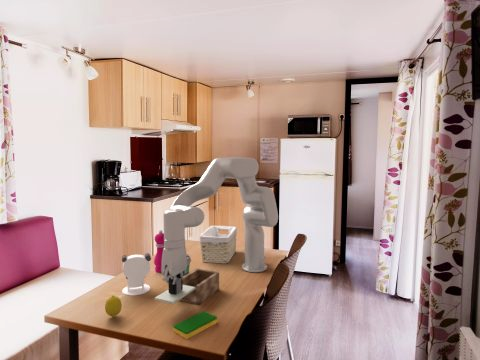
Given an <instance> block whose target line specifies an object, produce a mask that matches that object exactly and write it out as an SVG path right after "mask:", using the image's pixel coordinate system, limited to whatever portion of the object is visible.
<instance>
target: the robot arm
mask: <svg viewBox="0 0 480 360" xmlns="http://www.w3.org/2000/svg"><path fill="white" fill-rule="evenodd" d="M259 168H260V166H259V163H258V161H257V159H255V158H253V157H239V156H228V157H217V158H214V159H213V160H212V161H211V162H210V164H209V165H208V167H207V168H206V170H205V171H204V173H203V174H202V176H201V177H200V179H199V181H198V182H196V183H195V184H192V185H191V186H190V187H188V188H187V189H185V190H184V191H182V192H181V193H180V194H179V195H178V196H177V197H176V199H175V200H174V201H173V203H172V205H171V206H170V208H169V209H166V210H165V211H164V212H163V233H164V249H163V254H162V267H161V271H162V272H161V275H162V276H163V278H162V281H166V283H167V284H168V289H169V293H170V294H174V295H176V294H177V284H176V283H175V280H176V278H181V291H182V290H183V275H184V272H185V271H186V269H187V255H186V254H187V249H186V228H196V227H198V226H200V225H202V223H203V222H204V220H205V212H204V210H202V209H201V208H199V207H197V206H192V205H194V204H195V203H197V202H198V201H201V200H204V199H208V198H210V197H214V196H215V195H216V194H217V193H218V191H219V189H220V188H221V186H222V184H223V183H224V181H225V180H226V179H233V180H234V179H235V180H236V182H237V185H238V188H239V192H240V197H241V200H242V202H243V204H244V205H246V206H245V207H244V209H243V212H242V220H243V224H244V225H243V226H244V263H242V265H241V269H242V270H243V271H244V272H249V273H262V272H264V271H266V270H267V269H268V264H266V263H265V260H266V256H265V231H264V229H263V227H268V228H272V227H275V226H277V223H278V220H279V214H278V207H277V202H276V198H275V197H276V196H275V194H274V191H273V190H272V188H270V187H268V186H260V185H259V184H257V180H256V175H257V174H258V172H259V171H260V170H259Z"/></svg>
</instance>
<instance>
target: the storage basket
mask: <svg viewBox="0 0 480 360" xmlns="http://www.w3.org/2000/svg"><path fill="white" fill-rule="evenodd" d="M237 228H238V227H236V226H232V225H231V226H229V225H228V226H227V225H210V226H209V227H208V228H206V229H205V230H204V231H203V232H202V233H201V234H200V235H199V245H200V253H201V262H203V263H211V264H212V263H213V264H228V263H229V262H230V261H231V259H232V258H233V256H234V254H235V252H236V250H237V249H236V247H237V246H236V244H237V233H238V232H237V231H238V229H237ZM219 231H222V232H223V231H225V232H228V234H227V233H219Z"/></svg>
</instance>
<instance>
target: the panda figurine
mask: <svg viewBox="0 0 480 360" xmlns="http://www.w3.org/2000/svg"><path fill="white" fill-rule="evenodd" d="M151 260H152V257H151V254H150V252H149V253H148V252H147V253H145V254H131V255H129V256H127V255H126V254H125V255H122V256H121V262H122V273H123V275H124V276H125V278H126V280H127V285H126V286H125V287H124V288H122V291H121V293H122V295H126V296H133V297H134V296H140V295H143V294H146V293H147V292H148V293H149V291H150V290H151V287H150V285H149V284H147V283H145V278H146V276H148V275H149V273H150V272H151V264H150V261H151Z"/></svg>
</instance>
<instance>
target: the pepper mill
mask: <svg viewBox="0 0 480 360" xmlns="http://www.w3.org/2000/svg"><path fill="white" fill-rule="evenodd" d="M154 241H155V247H156V253H155V255H154V259H153V264H154V266H155V267H154V270H155V272H156V273H162V271H161V267H162V254H163V249H164V230H158V233H157V234H155V236H154Z"/></svg>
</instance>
